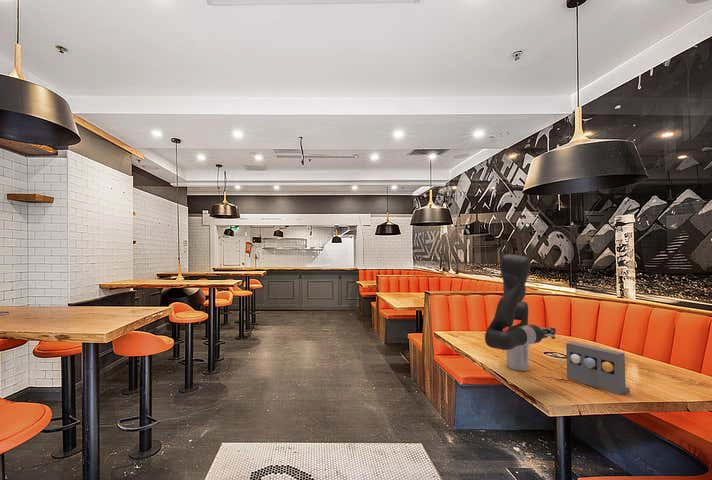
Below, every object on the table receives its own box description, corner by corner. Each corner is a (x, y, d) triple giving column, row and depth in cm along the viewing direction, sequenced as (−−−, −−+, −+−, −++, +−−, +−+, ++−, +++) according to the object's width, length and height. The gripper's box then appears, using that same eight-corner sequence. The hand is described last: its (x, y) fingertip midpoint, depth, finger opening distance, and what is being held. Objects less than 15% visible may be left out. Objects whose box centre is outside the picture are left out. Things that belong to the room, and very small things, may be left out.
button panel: (567, 378, 157) (566, 343, 158) (577, 376, 161) (576, 341, 162) (619, 394, 139) (617, 354, 140) (629, 391, 142) (628, 352, 143)
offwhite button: (570, 362, 156) (570, 353, 156) (574, 361, 157) (574, 352, 158) (579, 364, 152) (579, 355, 153) (583, 363, 154) (583, 354, 154)
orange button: (601, 370, 144) (601, 360, 145) (605, 369, 146) (605, 359, 146) (612, 373, 141) (612, 363, 141) (616, 372, 142) (616, 362, 142)
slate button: (583, 366, 150) (583, 357, 150) (587, 365, 151) (587, 356, 151) (593, 369, 146) (593, 359, 146) (597, 368, 147) (597, 358, 148)
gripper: (542, 328, 135) (569, 324, 143) (513, 322, 147) (539, 318, 155) (542, 348, 135) (569, 342, 143) (513, 340, 147) (539, 335, 154)
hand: (553, 330), depth 149 cm, fingers closed
